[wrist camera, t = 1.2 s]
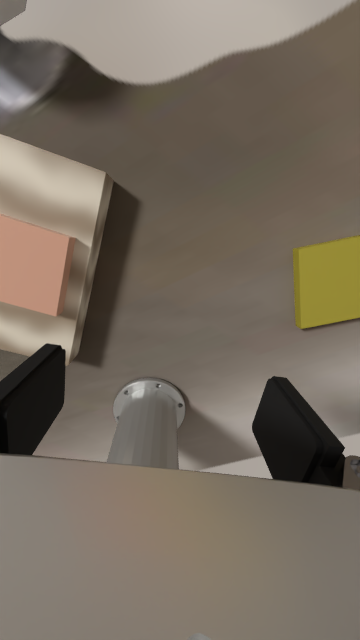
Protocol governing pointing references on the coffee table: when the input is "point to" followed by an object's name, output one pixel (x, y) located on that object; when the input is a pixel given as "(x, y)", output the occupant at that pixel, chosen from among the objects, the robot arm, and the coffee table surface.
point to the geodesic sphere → (11, 9)
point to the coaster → (34, 265)
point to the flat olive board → (327, 282)
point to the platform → (59, 215)
